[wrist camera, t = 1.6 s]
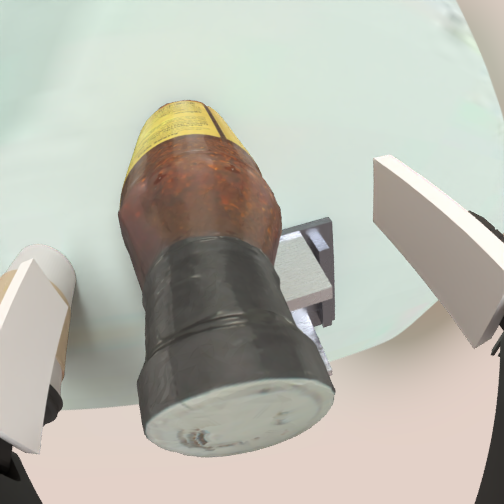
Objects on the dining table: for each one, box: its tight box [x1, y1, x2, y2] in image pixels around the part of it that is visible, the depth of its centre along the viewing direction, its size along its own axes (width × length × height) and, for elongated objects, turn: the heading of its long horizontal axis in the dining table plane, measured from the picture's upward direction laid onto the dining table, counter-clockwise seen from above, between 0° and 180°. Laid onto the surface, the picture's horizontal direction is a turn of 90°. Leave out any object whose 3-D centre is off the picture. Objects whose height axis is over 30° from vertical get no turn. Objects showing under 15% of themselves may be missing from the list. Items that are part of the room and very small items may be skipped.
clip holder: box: [274, 217, 335, 376], centre depth 28 cm, size 14×14×8 cm
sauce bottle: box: [118, 100, 335, 457], centre depth 13 cm, size 6×6×20 cm
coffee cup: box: [0, 244, 76, 426], centre depth 19 cm, size 9×9×15 cm
